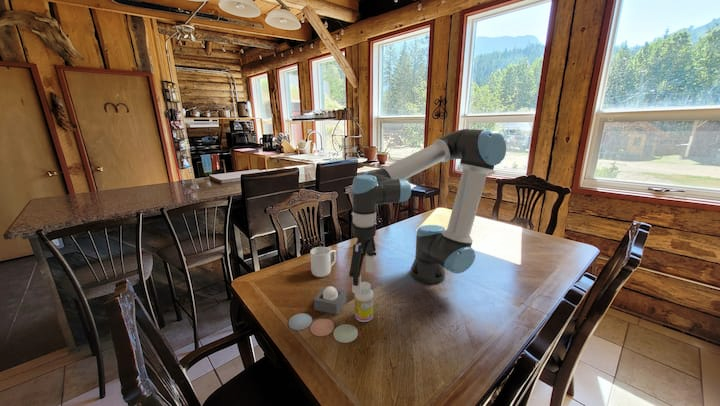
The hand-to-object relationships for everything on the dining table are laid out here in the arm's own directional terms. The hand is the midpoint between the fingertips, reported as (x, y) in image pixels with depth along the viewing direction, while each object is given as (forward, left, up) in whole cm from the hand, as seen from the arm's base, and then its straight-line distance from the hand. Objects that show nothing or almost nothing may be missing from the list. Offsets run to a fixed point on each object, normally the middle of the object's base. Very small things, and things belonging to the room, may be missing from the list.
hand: (363, 281), depth 98 cm
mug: (+27, -23, -14) cm, 38 cm away
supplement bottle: (0, 0, -14) cm, 14 cm away
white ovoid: (+14, -2, -13) cm, 19 cm away
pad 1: (+20, +10, -14) cm, 26 cm away
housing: (+14, -2, -14) cm, 20 cm away
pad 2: (+11, +10, -14) cm, 21 cm away
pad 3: (+3, +10, -14) cm, 17 cm away
